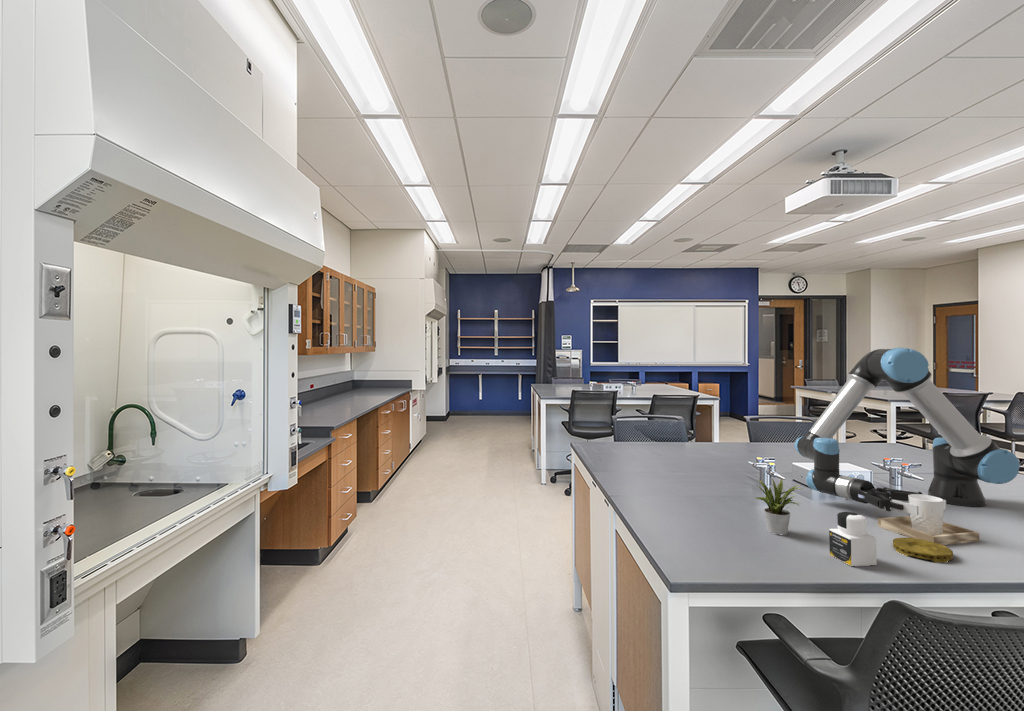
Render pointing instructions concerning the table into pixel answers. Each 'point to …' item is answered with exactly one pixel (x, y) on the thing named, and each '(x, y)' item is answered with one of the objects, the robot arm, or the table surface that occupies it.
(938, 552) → the gold notched disc
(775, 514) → the house plant
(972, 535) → the tray
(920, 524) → the white cup
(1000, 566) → the table surface
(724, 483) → the table surface
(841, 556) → the medicine bottle
